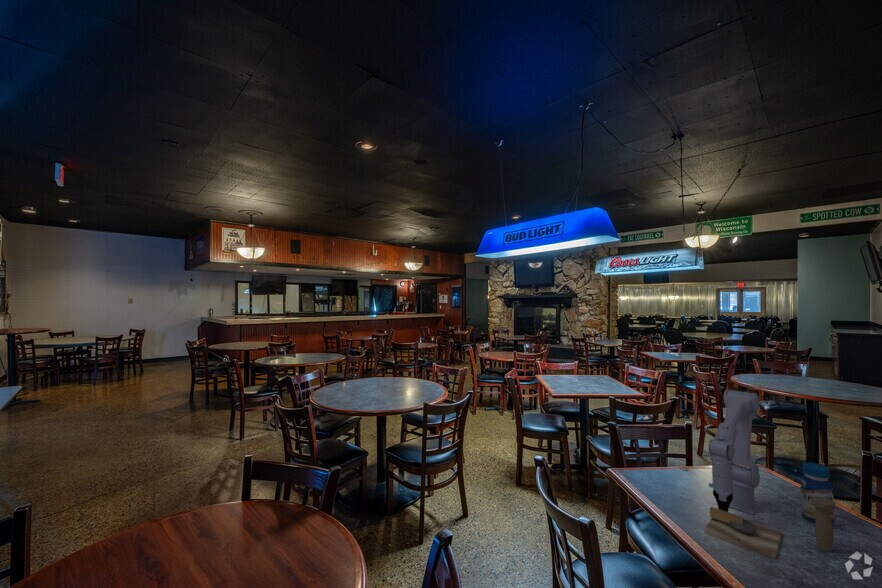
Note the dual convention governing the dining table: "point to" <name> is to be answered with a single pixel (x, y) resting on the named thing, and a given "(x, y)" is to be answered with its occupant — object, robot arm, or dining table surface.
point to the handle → (823, 522)
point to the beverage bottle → (814, 490)
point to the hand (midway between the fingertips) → (723, 513)
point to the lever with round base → (733, 520)
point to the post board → (747, 537)
